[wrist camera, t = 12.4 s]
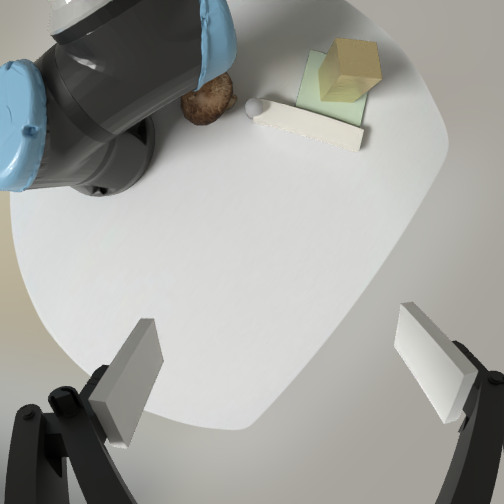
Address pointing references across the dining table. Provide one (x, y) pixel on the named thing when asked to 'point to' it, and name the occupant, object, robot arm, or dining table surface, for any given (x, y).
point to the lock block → (348, 70)
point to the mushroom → (209, 101)
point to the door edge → (304, 123)
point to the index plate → (336, 110)
